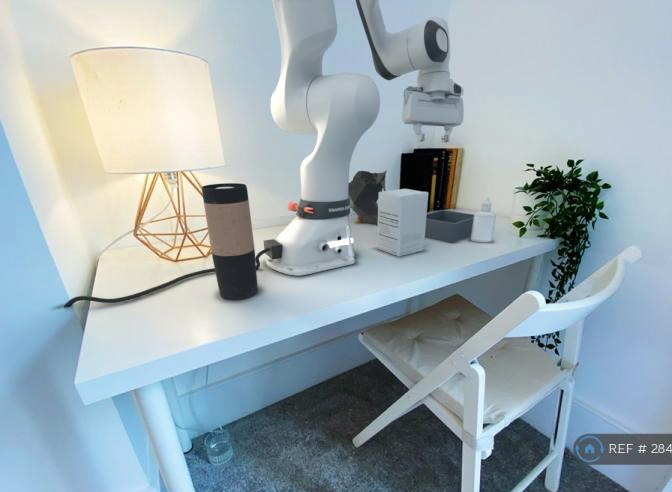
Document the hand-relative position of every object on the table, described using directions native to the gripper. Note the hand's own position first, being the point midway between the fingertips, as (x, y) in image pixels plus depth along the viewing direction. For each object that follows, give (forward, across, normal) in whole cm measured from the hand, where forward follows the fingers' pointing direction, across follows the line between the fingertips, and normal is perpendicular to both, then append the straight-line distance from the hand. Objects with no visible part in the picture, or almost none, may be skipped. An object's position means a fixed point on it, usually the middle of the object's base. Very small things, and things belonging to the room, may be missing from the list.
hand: (433, 141), depth 99 cm
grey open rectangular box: (+27, +3, -2) cm, 27 cm away
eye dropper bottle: (+29, +6, -13) cm, 32 cm away
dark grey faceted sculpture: (+23, -9, +22) cm, 33 cm away
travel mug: (+32, -63, -15) cm, 72 cm away
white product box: (+29, -19, -8) cm, 36 cm away
